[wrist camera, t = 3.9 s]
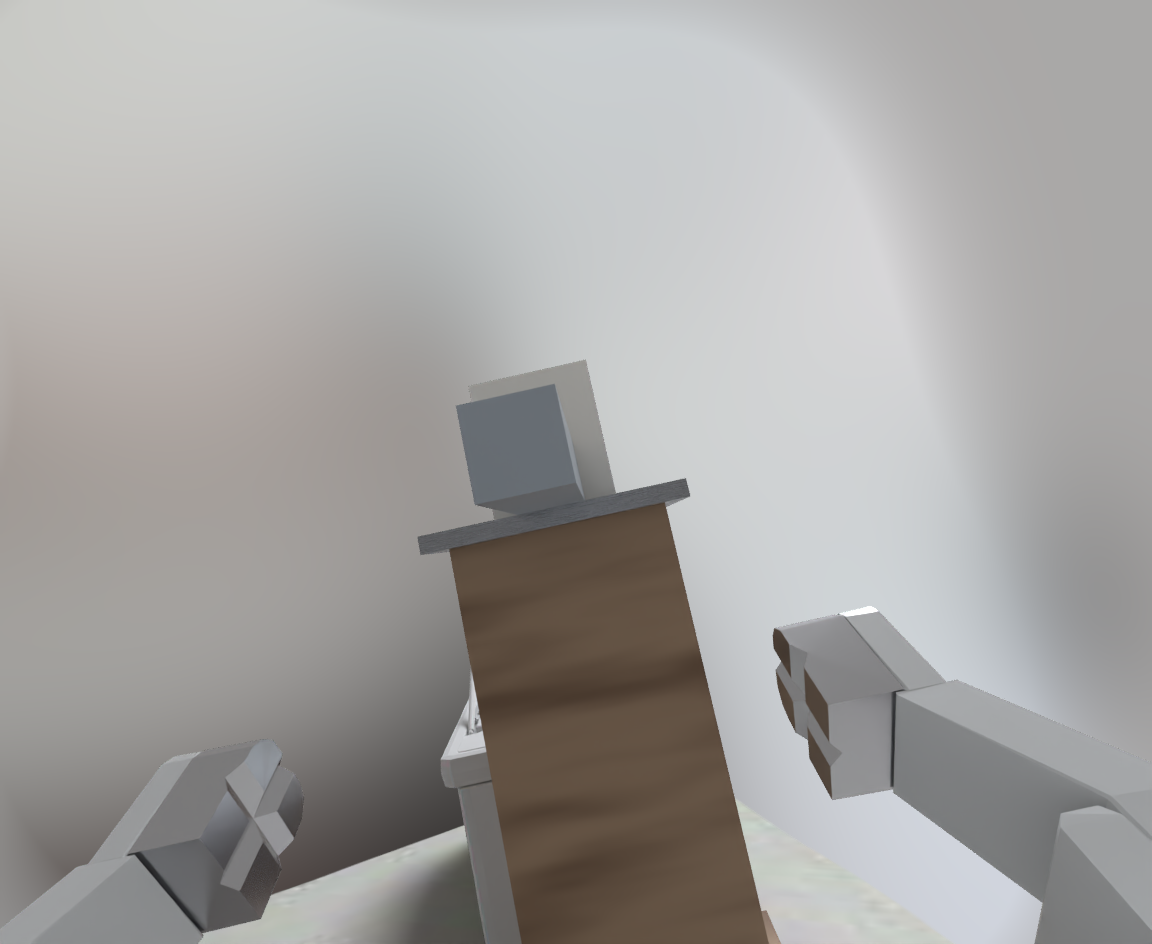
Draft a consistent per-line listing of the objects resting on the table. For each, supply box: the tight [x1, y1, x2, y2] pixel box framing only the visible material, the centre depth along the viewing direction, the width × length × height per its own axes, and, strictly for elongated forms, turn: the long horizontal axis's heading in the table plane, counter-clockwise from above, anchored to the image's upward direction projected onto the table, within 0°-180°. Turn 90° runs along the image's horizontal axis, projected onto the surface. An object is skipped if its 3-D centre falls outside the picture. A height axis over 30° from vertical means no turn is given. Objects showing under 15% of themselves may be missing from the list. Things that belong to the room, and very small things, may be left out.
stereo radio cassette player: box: [441, 670, 522, 944], centre depth 43 cm, size 21×8×20 cm, turn 4°
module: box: [456, 360, 616, 520], centre depth 25 cm, size 18×6×7 cm, turn 177°
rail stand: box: [418, 479, 781, 944], centre depth 27 cm, size 11×13×26 cm
